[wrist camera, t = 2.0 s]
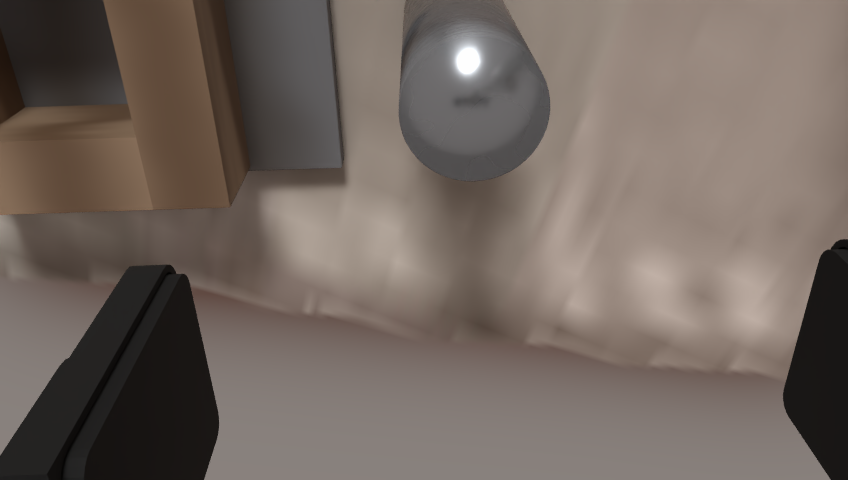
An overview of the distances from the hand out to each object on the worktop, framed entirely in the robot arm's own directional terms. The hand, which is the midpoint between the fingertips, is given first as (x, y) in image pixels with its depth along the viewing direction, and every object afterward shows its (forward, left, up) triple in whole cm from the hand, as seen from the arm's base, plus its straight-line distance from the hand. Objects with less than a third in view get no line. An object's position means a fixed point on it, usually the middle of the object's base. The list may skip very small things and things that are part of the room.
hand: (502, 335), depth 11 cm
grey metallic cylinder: (0, 0, -22) cm, 22 cm away
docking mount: (+15, 0, -22) cm, 26 cm away
